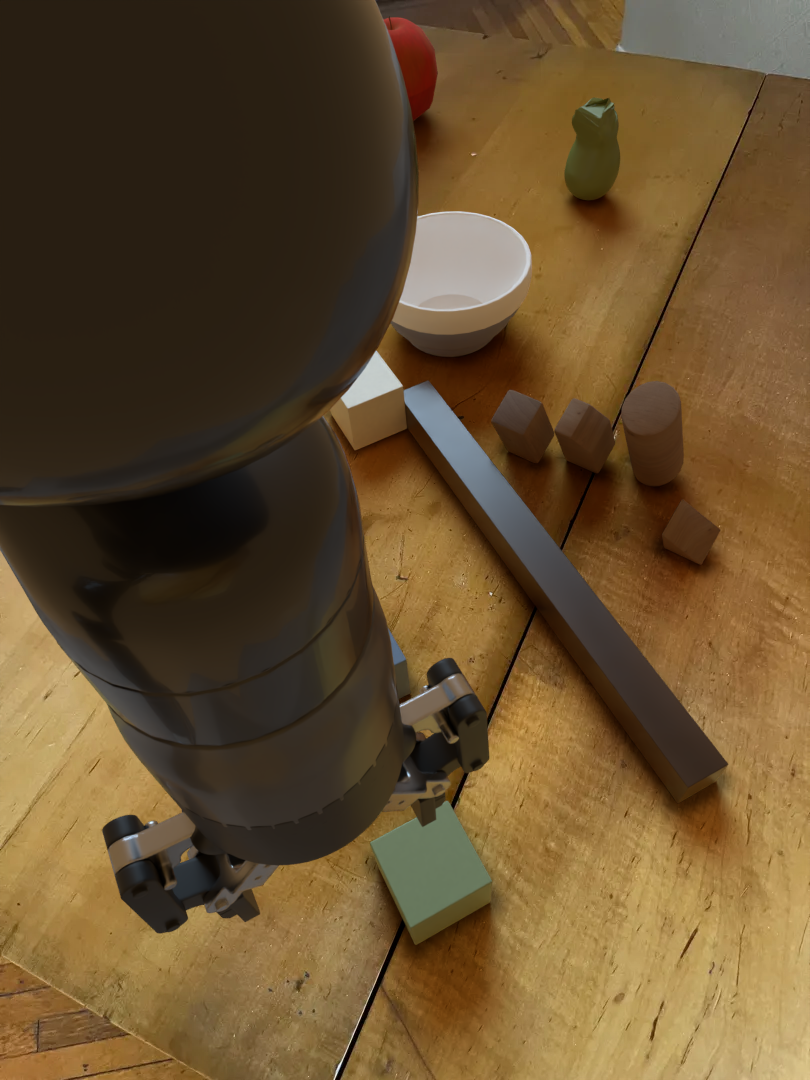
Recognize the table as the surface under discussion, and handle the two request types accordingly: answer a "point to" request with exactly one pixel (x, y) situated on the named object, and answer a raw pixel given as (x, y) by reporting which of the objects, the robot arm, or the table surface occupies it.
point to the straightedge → (566, 602)
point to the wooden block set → (590, 441)
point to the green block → (432, 873)
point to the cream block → (371, 405)
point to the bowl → (462, 282)
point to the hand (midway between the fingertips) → (335, 849)
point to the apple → (414, 62)
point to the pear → (593, 150)
